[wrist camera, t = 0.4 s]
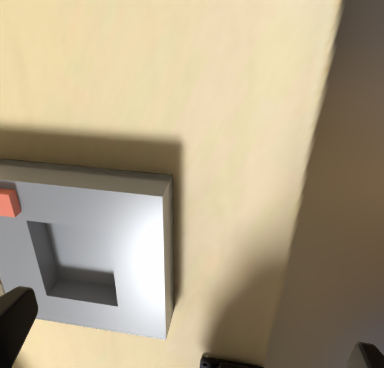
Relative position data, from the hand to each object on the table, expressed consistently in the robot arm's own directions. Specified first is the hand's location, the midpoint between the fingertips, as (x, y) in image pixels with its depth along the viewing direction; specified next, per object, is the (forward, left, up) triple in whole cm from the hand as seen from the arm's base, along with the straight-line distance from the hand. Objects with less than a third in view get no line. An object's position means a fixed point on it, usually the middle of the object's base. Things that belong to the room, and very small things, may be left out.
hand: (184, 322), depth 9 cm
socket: (-10, +10, -14) cm, 20 cm away
